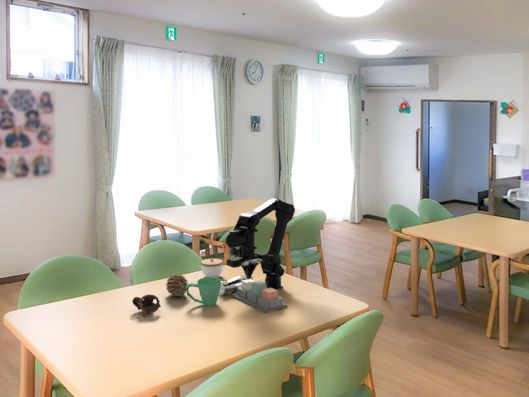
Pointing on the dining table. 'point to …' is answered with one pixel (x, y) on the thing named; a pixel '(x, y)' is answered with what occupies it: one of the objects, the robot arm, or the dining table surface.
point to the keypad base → (259, 301)
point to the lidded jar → (212, 267)
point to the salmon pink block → (269, 293)
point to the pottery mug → (146, 304)
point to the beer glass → (232, 284)
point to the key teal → (257, 287)
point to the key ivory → (246, 284)
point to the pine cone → (176, 285)
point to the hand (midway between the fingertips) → (248, 279)
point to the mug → (206, 290)
